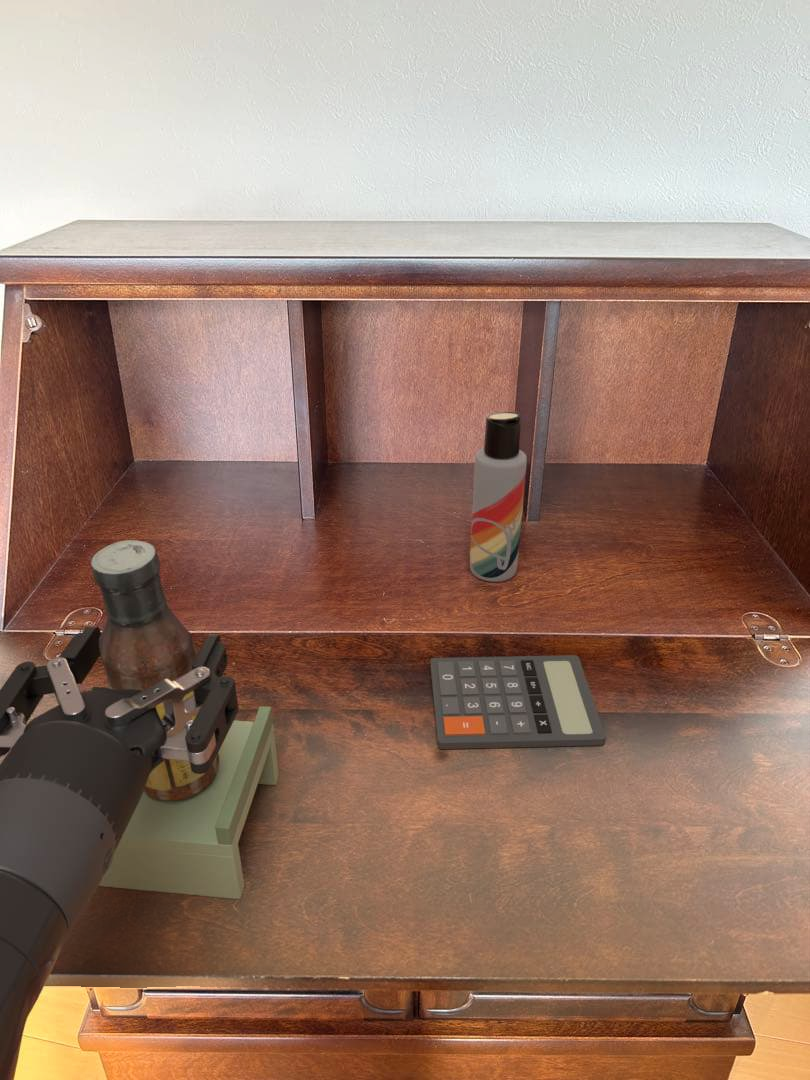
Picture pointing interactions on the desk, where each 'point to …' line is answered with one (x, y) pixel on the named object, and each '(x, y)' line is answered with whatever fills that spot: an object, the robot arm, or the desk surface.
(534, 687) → the calculator
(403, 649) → the desk surface
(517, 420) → the lotion bottle
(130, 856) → the shelf
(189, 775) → the sauce bottle
